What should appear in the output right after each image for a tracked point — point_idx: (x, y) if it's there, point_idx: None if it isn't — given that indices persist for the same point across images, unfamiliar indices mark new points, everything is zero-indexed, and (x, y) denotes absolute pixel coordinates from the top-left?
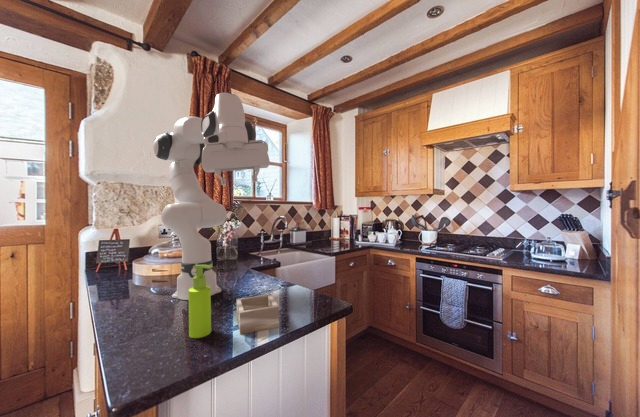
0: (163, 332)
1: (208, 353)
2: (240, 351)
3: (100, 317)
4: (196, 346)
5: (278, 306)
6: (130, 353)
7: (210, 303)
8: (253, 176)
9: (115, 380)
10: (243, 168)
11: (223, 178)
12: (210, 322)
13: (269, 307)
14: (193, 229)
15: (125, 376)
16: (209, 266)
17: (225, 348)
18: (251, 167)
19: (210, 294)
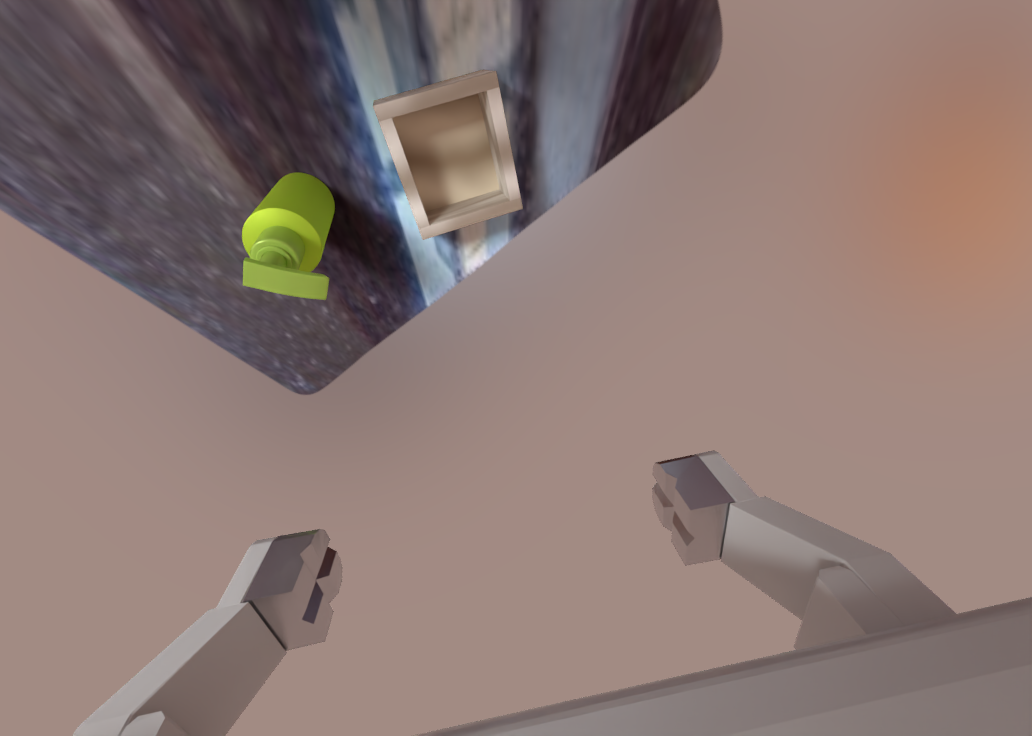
0: (178, 180)
1: (375, 293)
2: (437, 290)
3: None
4: (334, 266)
5: (521, 207)
6: (188, 282)
7: (326, 224)
8: (694, 548)
9: (250, 357)
10: (650, 725)
11: (303, 639)
12: (332, 210)
13: (497, 211)
14: None
15: (259, 349)
16: (318, 289)
17: (403, 278)
18: (848, 693)
19: (323, 232)
